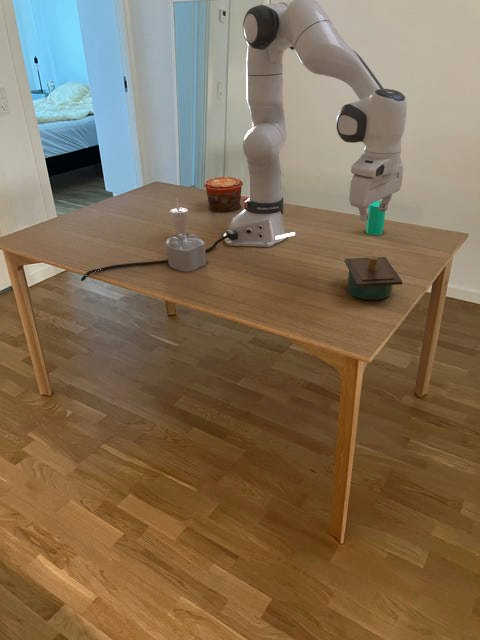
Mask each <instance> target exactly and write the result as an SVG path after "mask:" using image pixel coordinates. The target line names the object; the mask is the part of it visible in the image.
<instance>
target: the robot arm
mask: <svg viewBox="0 0 480 640" xmlns="http://www.w3.org/2000/svg"><path fill="white" fill-rule="evenodd" d="M242 35H243V37H244V40H245V42H246V45H247V51H246V62H245V63H246V64H245V65H246V67H245V69H246V70H245V71H246V77H245V78H246V103H247V105H248V108H249V112H250V117H251V125H252V127H251V128H250V129H249V130H248V131H247V133H246V134H245V136H244V139H243V142H242V150H243V155H244V156H245V160H246V164H247V169H248V175H249V197H248V196H244V197H243V198H242V202H243V204H244V209H243V210H241V211H240V212H239V213H238V214H236V215H235V216H233V217H232V219H231V221H230V224H229V228H228V229H227V230H226V231H225V232H224V233H223V236H222V237H220V238H219V239H217V240H216V241H215V242H214V243H213V245H211V246H210V247H209V248H205V254H207V253H208V252H210V251H212V250H213V249H215V248H216V247H217V246H218V245H219V243H221V242H224V243H225V244H226V245H227V246H229V247H230V246H231V247H256V248H257V247H259V248H262V247H263V248H270V247H273V246H274V245H276V244H278V243H282V242H283V241H284V240H286V238H287V237H288V238H289V237H292V236H296V232H295V231H293V232H289V233H287V232H286V229H285V223H284V216H283V215H284V211H285V210H284V209H285V206H284V205H285V203H284V202H285V201H284V197H283V173H282V169H281V163H280V150H281V149H282V148H283V147H284V145H285V144H286V140H287V129H286V117H285V110H284V100H283V99H284V96H283V95H284V92H283V88H284V87H283V86H284V84H283V72H284V71H283V55H284V53H285V52H286V50H287V49H289V50H291V51H294V52H295V54H296V55H297V57H298V59H299V61H300V62H301V64H302V65H303V66H304V68H306V69H307V70H308V71H309V72H311V73H313V74H315V75H319V76H325V77H329V78H334V79H336V80H340V81H342V82H344V83H345V84H347V85H348V86H349V87H350V88H351V89H352V91H353V92H354V93H355V95H356V96H357V98H358V99H359V100H356V101H351V102H349V103H347V104H344V105H343V106H342V107H340V109H339V111H338V113H337V116H336V120H335V127H336V132H337V134H338V136H339V138H340V139H341V140H342V141H344V142H345V143H351V144H355V143H356V144H357V143H363V145H364V147H363V153H362V154H361V155H360V156H359V158H358V159H357V160H356V161H355V162H354V163H353V164H352V165H351V167H350V172H351V174H353V175H352V177H351V180H350V185H349V186H350V187H349V197H348V202H349V204H350V206H352V207H355V208H357V209H358V211H359V221H362V222H367V220H368V219H369V213H368V207H369V205H370V204H372V203H374V202H376V201H380V200H381V204H379V211H382V212H384V211H385V212H386V211H388V209H389V208H388V207H389V204H390V202H391V200H392V197H393V194H395V193H397V192H400V191H401V188H402V185H403V177H404V165H403V164H402V159H401V153H402V138H403V135H404V133H405V126H406V122H407V121H406V120H407V99H406V96H405V95H404V94H403V93H402V92H400V91H399V90H395V89H389V88H385V87H383V86H382V84H381V83H380V82H379V80H378V78H377V77H376V75H375V74H374V73H373V72H372V71H371V69H370V68H369V66H368V65H367V63H366V62H365V60H364V59H363V58H362V57H361V56H360V54H358V53H357V52H356V51H355V50H354V49H353V48H352V47H351V46H350V45H349V44H348V43H347V42H346V41H345V40H344V39H343V38H342V36H341V34H340V33H339V32H338V31H337V28H336V27H335V26H334V24H333V22H332V20H331V19H330V17H329V16H328V14H327V13H326V11H325V10H324V9H323V7H322V6H321V5H320V4H319V3H318V2H317V0H292V1H291V2H288V1H285V2H284V1H281V2H277V3H270V4H258V5H256V6H255V5H254V6H252V7H251V8H249V9H248V10H247V11H246V13H245V15H244V18H243V22H242ZM159 264H168V259H162V260H154V261H153V260H152V261H142V262H141V261H140V262H129V263H121V264H113V265H112V264H111V265H108V266H103V267H100V268H94V269H91V270H88V271H87V272H85V274H84V275H82V277H81V279H80V281H81V282H84V281H85V280H86V279H87V277H88V276H90V275H91V274H93V272H94V273H99V272H105V271H107V270H112V269H119V268H127V267H137V266H150V265H159ZM100 269H101V270H100ZM98 270H99V271H98ZM95 271H96V272H95ZM85 275H87V276H85Z"/></svg>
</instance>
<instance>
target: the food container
mask: <svg viewBox="0 0 480 640" xmlns="http://www.w3.org/2000/svg"><path fill="white" fill-rule="evenodd" d="M243 186H244V182H243V181H242V180H241V179H240V178H237V177H234V176H227V177H224V176H219V177H214V178H210V179H207V180H206V182H205V183H204V185H203V187H204V188H205V192H206V196H207V202H208V206H209V209H210V210H211V211H213V212H218V213H228V212H229V213H230V212H233V211H236V210H238V209H239V208H240V207H241V198H242V189H243V188H242V187H243Z"/></svg>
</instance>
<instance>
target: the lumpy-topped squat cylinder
mask: <svg viewBox="0 0 480 640" xmlns="http://www.w3.org/2000/svg"><path fill="white" fill-rule="evenodd" d="M165 248H166V256H167V260H168V263H167V264H168V266H169V267H170V268H172V269H174V270H177V271H180V272H186V273H188V272H194V271H195V270H197V269H199V268H202V267H204V266H206V265H207V255H206V254H207V253H205V250H206V243H205V241H204V240H202V239H201V238H198V237H197V235H195V234H194V233H191V234H188V235H187V236H184V235H182V234H179V235H177V236H175V235H174V236H171V237H168V238H167V240H166V241H165Z"/></svg>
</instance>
